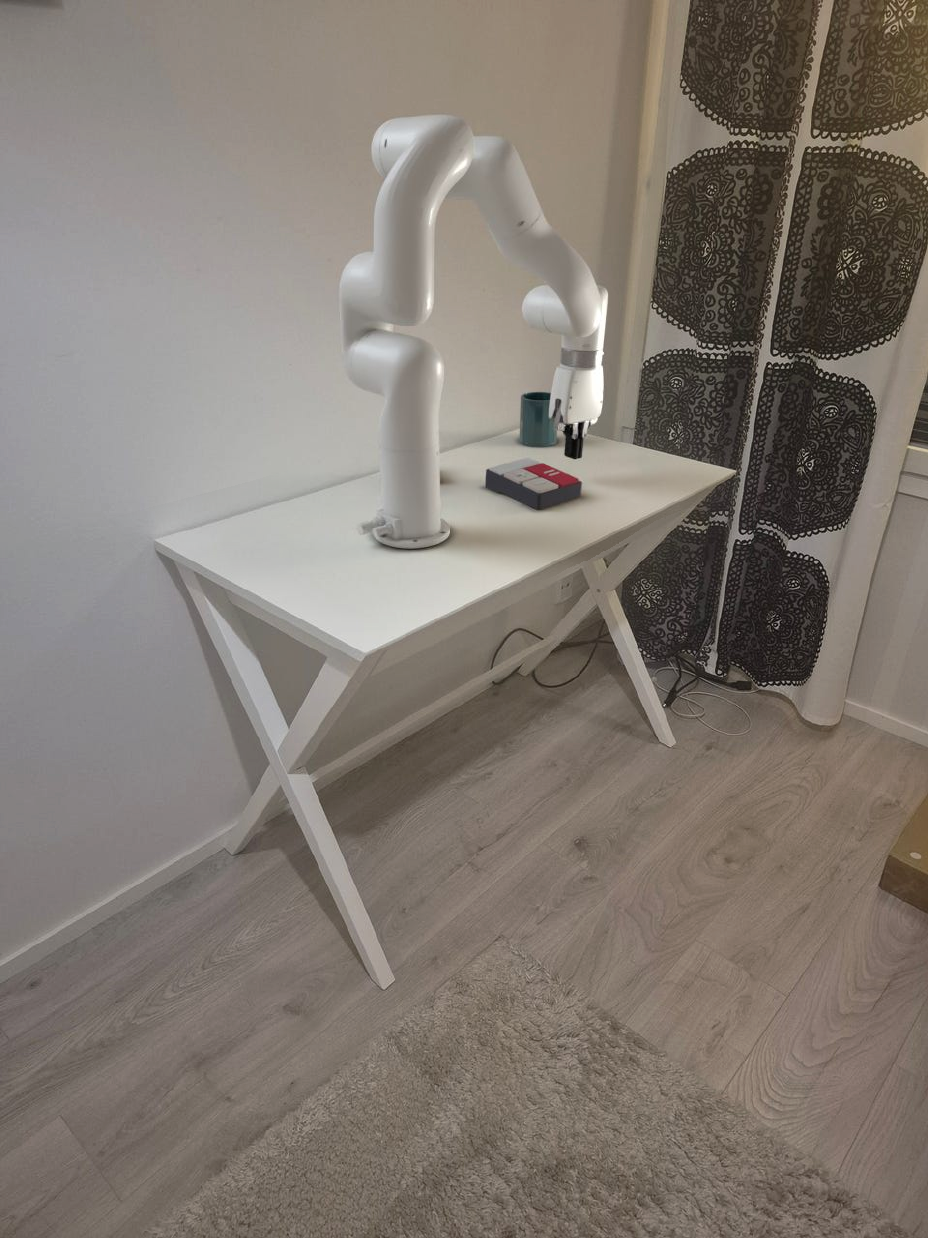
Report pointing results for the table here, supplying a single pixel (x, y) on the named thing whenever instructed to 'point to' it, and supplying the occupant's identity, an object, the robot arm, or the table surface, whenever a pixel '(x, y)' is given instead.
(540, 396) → the pen pot
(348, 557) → the table surface
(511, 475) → the button box
